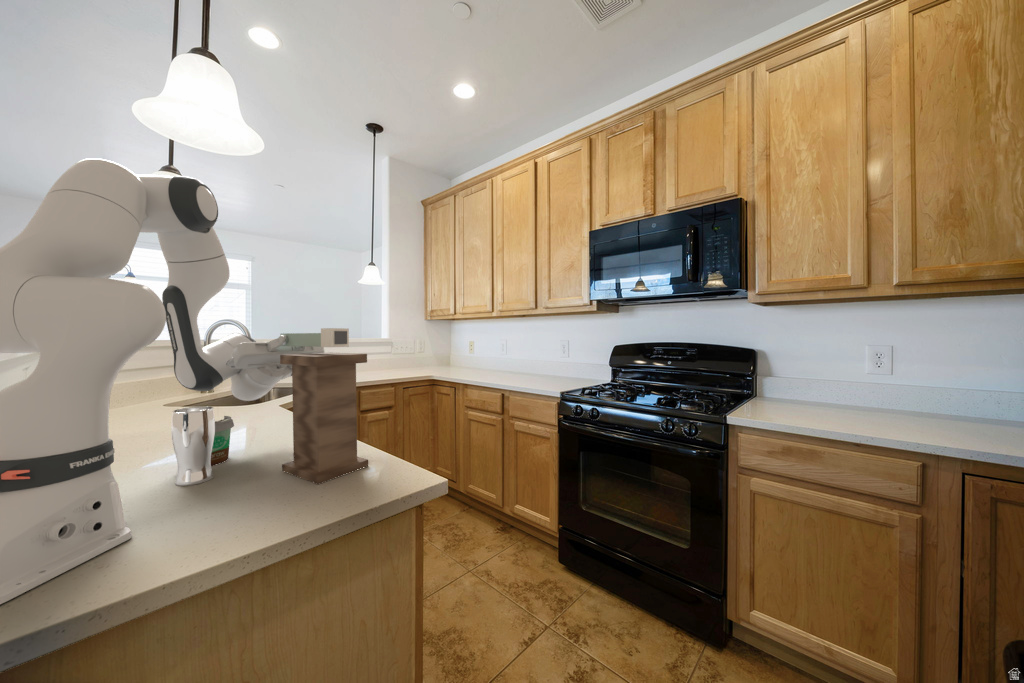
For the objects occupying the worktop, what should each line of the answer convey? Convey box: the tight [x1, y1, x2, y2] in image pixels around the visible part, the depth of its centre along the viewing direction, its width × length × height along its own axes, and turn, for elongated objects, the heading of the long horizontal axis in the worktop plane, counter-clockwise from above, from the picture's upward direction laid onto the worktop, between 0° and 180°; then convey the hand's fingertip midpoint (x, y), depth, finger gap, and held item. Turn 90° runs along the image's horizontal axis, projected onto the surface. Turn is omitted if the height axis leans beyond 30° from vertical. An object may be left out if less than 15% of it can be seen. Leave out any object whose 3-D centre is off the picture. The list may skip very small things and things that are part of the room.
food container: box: [211, 415, 235, 467], centre depth 89 cm, size 12×6×10 cm, turn 168°
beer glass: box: [170, 405, 215, 487], centre depth 78 cm, size 7×7×15 cm
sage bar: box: [279, 327, 350, 348], centre depth 87 cm, size 22×4×4 cm, turn 58°
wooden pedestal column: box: [280, 351, 369, 485], centre depth 85 cm, size 14×12×26 cm
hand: (294, 337), depth 91 cm, fingers closed on sage bar, 3 cm apart
